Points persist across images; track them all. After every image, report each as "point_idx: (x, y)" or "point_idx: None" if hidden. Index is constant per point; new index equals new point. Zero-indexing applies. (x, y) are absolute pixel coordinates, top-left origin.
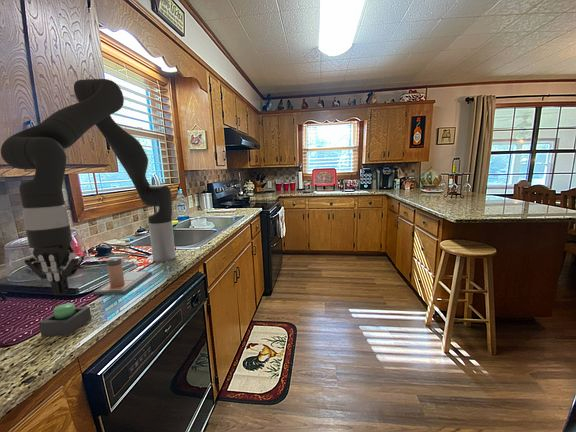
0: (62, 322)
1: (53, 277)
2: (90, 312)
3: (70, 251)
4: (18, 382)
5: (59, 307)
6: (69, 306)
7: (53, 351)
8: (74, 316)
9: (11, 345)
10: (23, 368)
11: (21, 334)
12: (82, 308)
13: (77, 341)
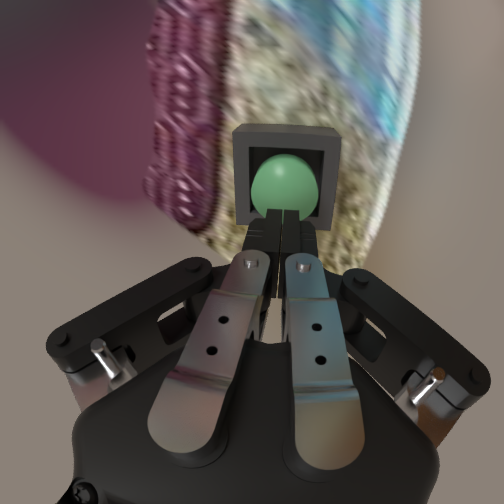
0: (315, 228)
1: (267, 310)
2: (337, 133)
3: (418, 468)
4: None
5: (267, 196)
6: (304, 192)
7: (328, 257)
8: (331, 200)
9: (203, 231)
10: None
11: (178, 192)
12: (321, 146)
13: (361, 229)
